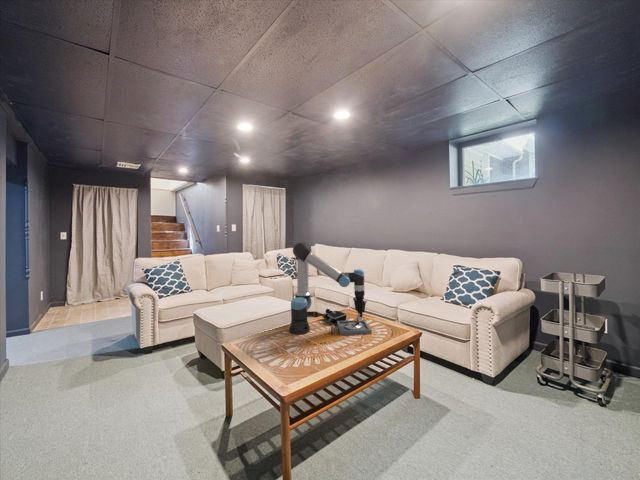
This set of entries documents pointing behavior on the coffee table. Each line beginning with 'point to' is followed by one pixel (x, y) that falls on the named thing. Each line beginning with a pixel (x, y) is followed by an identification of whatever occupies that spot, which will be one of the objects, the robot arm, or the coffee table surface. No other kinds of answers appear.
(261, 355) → the coffee table surface
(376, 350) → the coffee table surface
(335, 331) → the screwdriver
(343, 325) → the panel
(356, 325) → the dial
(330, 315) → the film camera
